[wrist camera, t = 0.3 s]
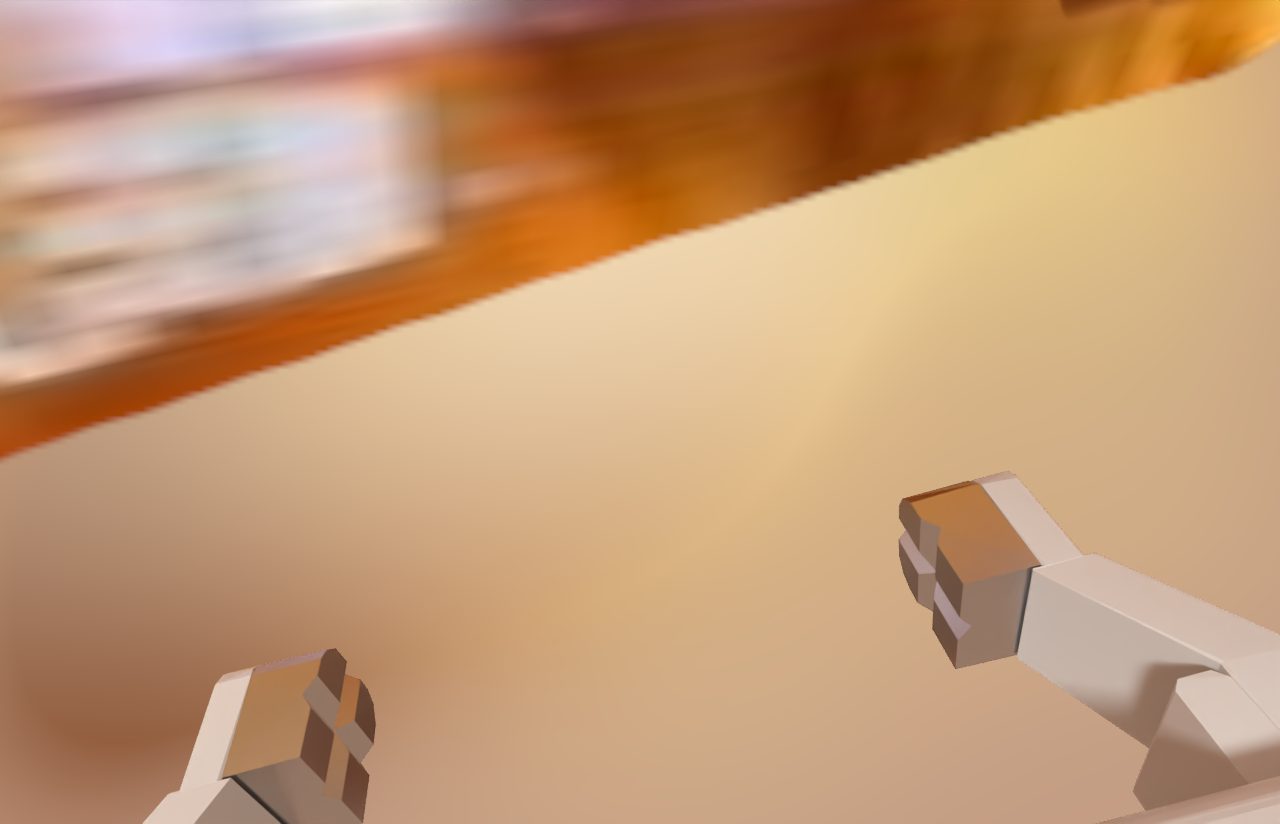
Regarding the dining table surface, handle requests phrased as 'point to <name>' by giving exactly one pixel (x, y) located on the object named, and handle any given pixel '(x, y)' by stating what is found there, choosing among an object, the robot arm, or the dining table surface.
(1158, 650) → the robot arm
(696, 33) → the dining table surface
